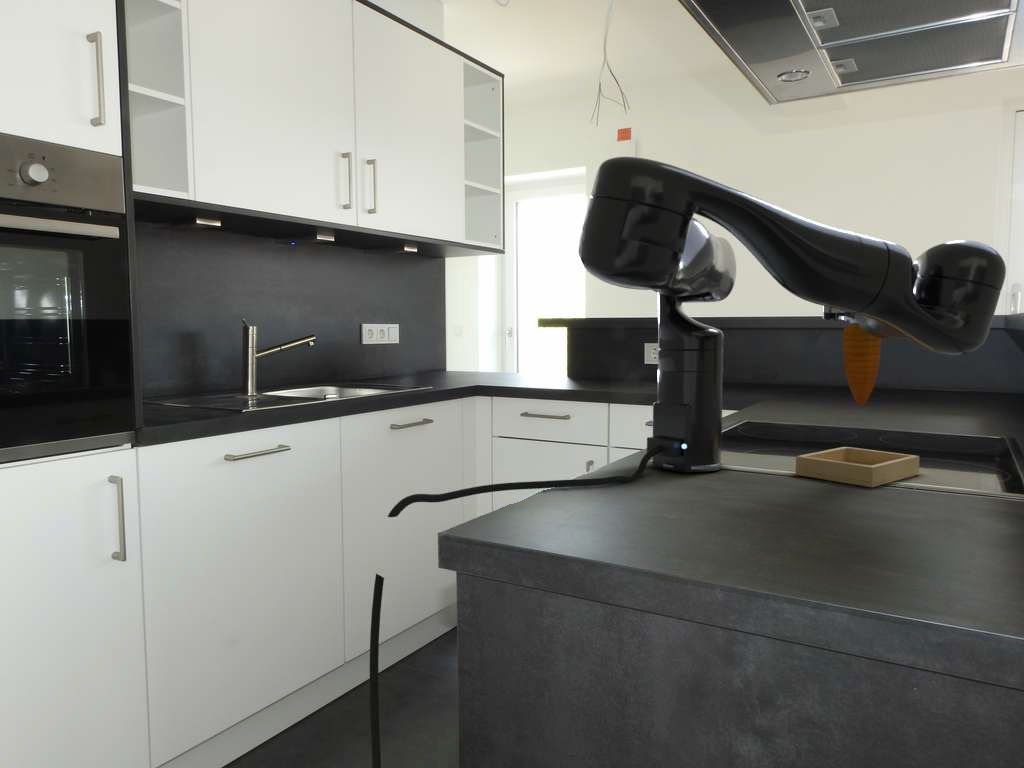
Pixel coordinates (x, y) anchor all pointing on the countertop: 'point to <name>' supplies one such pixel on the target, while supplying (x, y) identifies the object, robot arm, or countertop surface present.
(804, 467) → the tray
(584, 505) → the countertop surface
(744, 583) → the countertop surface
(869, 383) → the carrot
